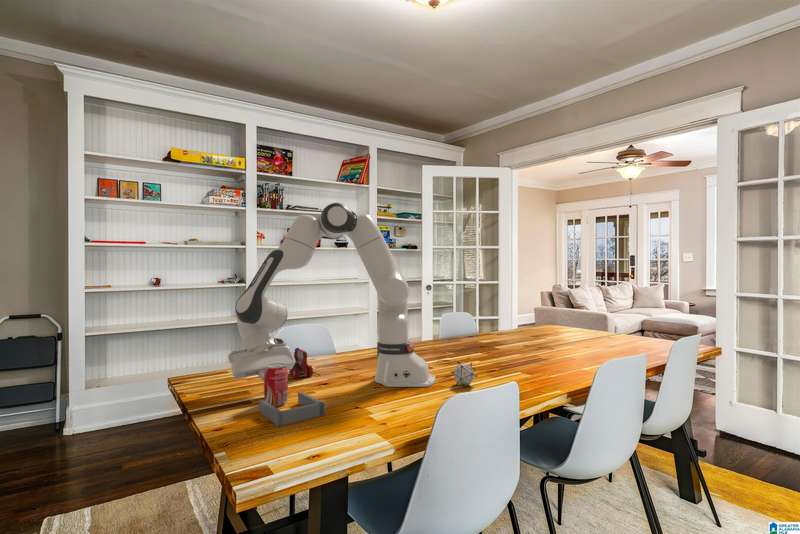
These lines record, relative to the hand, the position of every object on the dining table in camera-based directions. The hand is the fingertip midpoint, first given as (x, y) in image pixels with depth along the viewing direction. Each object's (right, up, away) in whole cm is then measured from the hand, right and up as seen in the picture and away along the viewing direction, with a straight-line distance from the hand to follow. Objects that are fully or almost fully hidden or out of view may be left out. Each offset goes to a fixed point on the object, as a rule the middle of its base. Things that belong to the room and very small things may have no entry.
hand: (270, 383), depth 138 cm
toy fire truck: (+3, -5, +30) cm, 31 cm away
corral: (+9, -5, -12) cm, 16 cm away
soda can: (+3, -6, -4) cm, 7 cm away
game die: (+64, -5, +15) cm, 66 cm away
